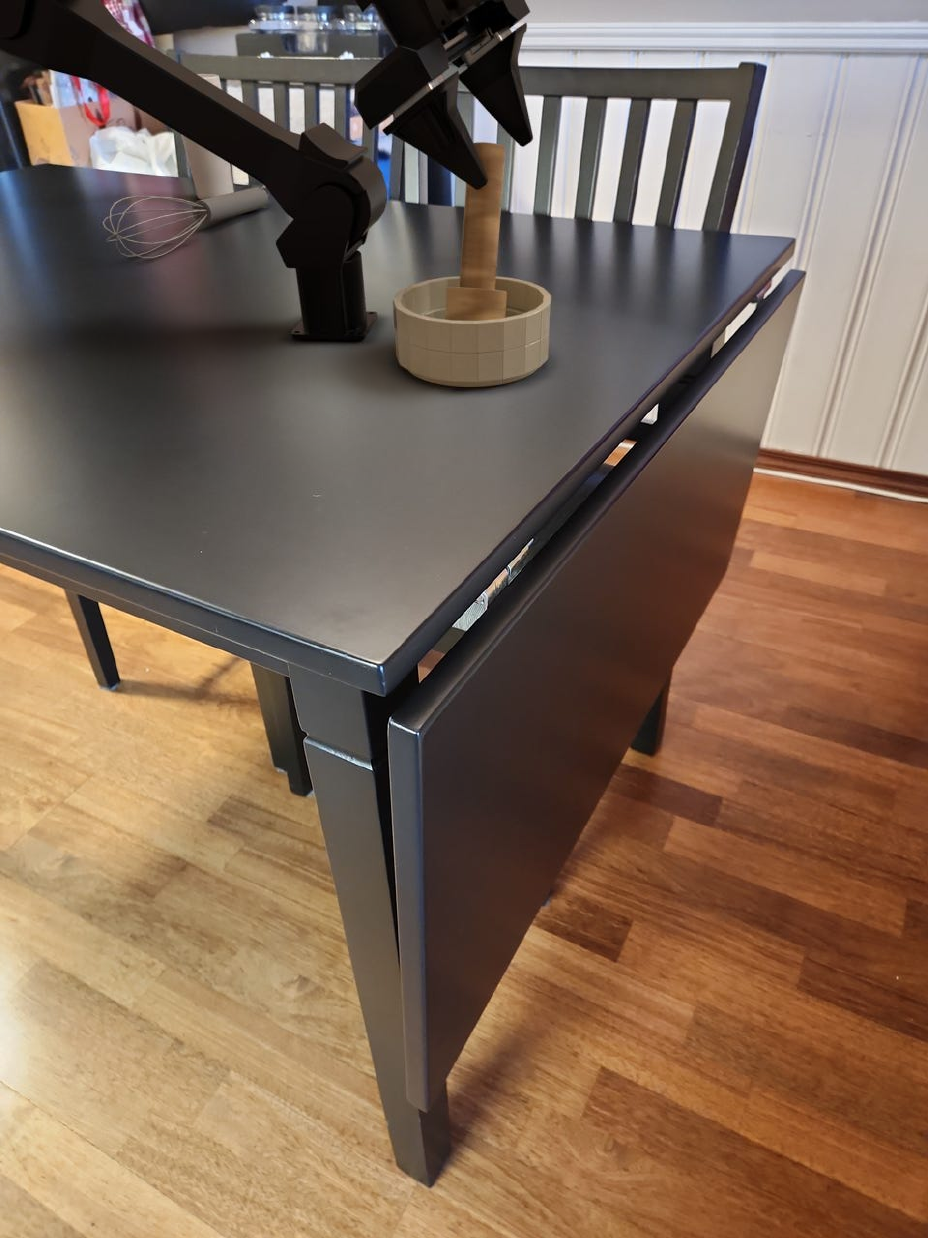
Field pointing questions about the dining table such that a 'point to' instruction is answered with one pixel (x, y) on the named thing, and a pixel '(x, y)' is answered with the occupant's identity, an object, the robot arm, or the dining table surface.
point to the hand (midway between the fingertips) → (506, 163)
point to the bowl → (471, 335)
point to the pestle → (480, 246)
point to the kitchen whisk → (200, 212)
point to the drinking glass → (208, 163)
